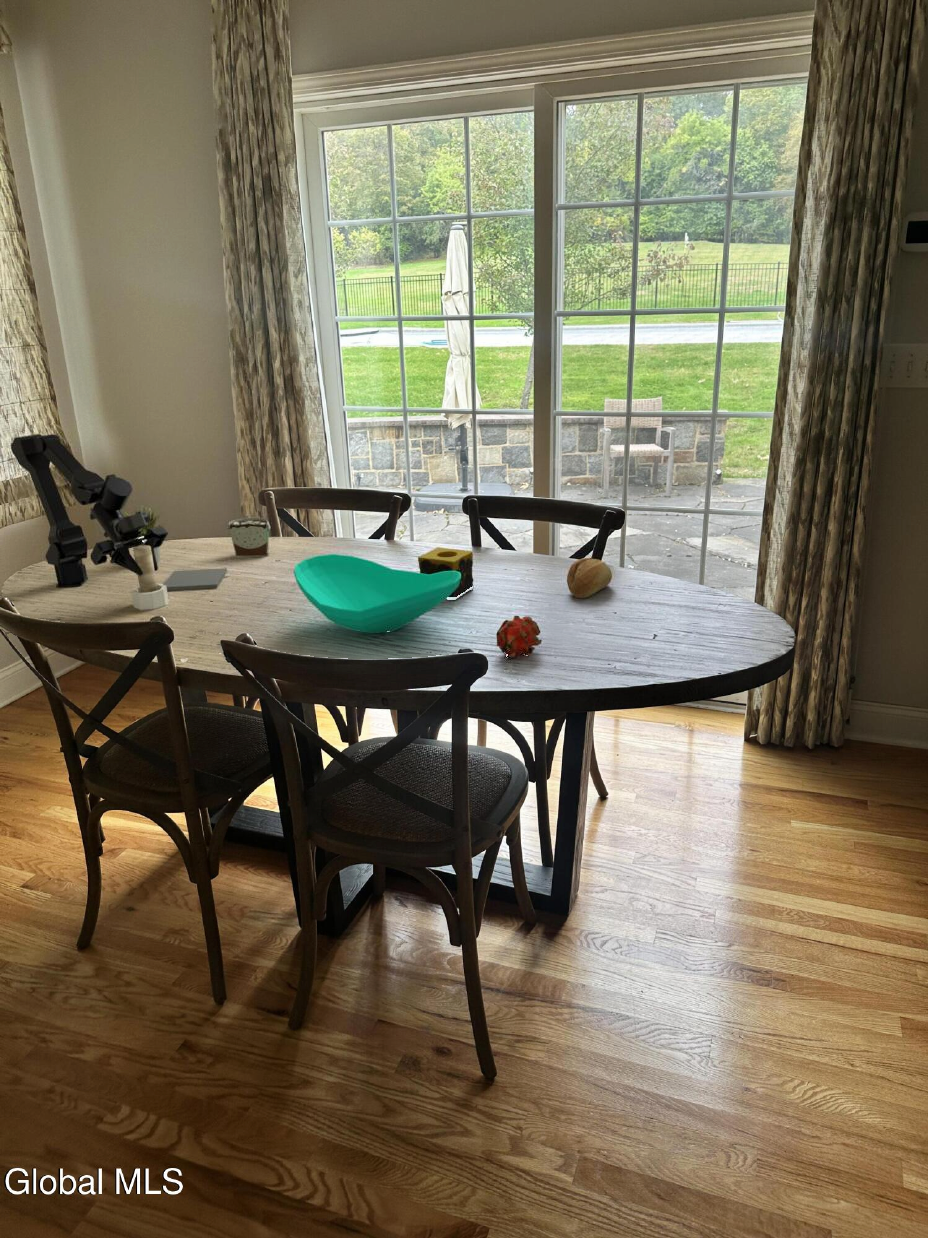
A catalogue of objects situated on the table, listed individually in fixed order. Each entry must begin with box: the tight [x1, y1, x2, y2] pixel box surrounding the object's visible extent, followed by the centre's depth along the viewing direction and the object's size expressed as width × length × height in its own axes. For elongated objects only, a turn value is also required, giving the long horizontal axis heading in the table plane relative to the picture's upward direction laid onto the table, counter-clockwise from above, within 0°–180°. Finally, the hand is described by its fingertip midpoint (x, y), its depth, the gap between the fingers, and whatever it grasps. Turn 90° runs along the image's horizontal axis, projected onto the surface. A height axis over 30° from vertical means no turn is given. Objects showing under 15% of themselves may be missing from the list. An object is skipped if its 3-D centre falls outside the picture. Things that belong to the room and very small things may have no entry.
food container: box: [227, 517, 271, 557], centre depth 246 cm, size 12×6×10 cm, turn 84°
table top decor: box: [293, 553, 461, 634], centre depth 187 cm, size 40×28×13 cm
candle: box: [417, 546, 474, 597], centre depth 208 cm, size 10×10×10 cm
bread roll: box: [566, 557, 613, 599], centre depth 205 cm, size 10×15×8 cm, turn 150°
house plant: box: [120, 504, 165, 564], centre depth 242 cm, size 14×14×16 cm
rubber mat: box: [162, 567, 228, 592], centre depth 225 cm, size 14×14×1 cm
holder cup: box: [130, 582, 170, 611], centre depth 208 cm, size 8×8×4 cm
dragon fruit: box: [495, 615, 542, 659], centre depth 171 cm, size 8×8×12 cm
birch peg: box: [132, 545, 158, 593], centre depth 206 cm, size 4×4×12 cm
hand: (149, 572), depth 205 cm, fingers closed on birch peg, 4 cm apart
